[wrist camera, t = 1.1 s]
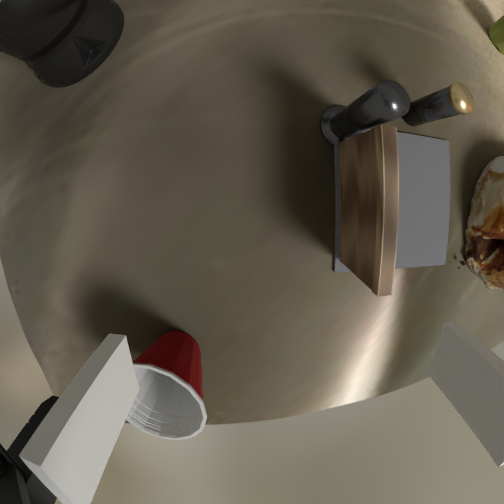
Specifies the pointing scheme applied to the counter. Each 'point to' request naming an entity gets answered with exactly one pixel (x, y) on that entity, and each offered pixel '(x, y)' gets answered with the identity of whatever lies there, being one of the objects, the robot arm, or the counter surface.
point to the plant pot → (497, 34)
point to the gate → (370, 206)
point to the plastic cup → (169, 388)
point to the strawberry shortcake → (487, 226)
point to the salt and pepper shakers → (393, 109)
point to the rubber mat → (414, 202)
